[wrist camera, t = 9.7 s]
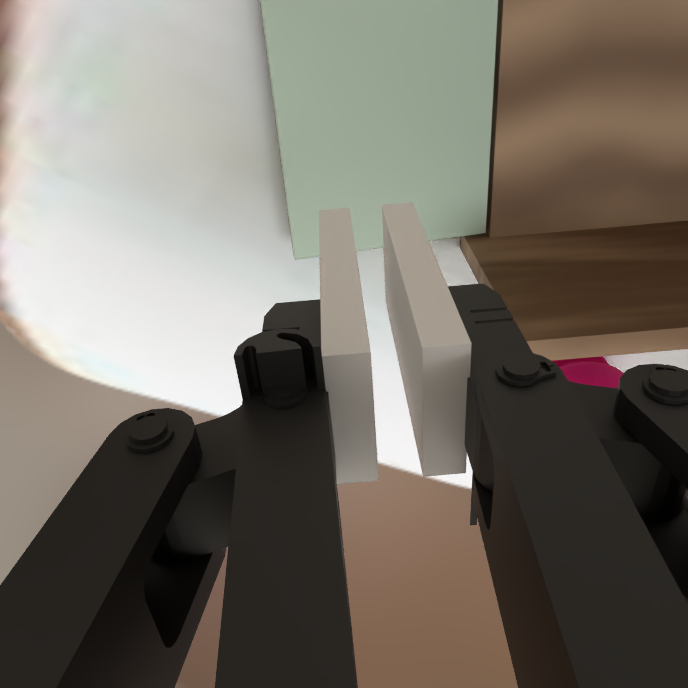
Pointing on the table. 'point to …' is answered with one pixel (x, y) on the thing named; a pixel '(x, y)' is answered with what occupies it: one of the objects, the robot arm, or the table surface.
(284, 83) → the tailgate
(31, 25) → the table surface
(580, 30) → the crate
